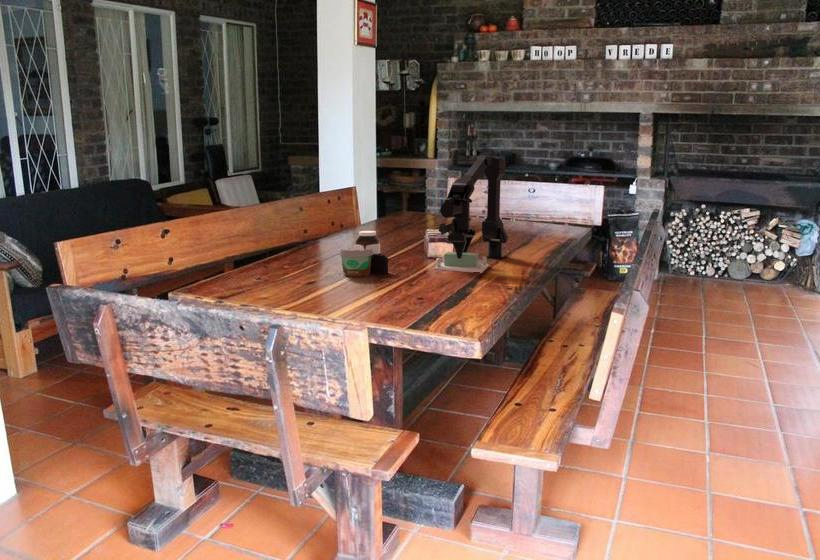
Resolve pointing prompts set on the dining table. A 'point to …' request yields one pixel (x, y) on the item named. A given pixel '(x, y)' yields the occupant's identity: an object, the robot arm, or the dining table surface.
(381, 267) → the film camera
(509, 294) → the dining table surface
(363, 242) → the spread jar
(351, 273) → the food container
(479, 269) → the plate
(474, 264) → the green board
